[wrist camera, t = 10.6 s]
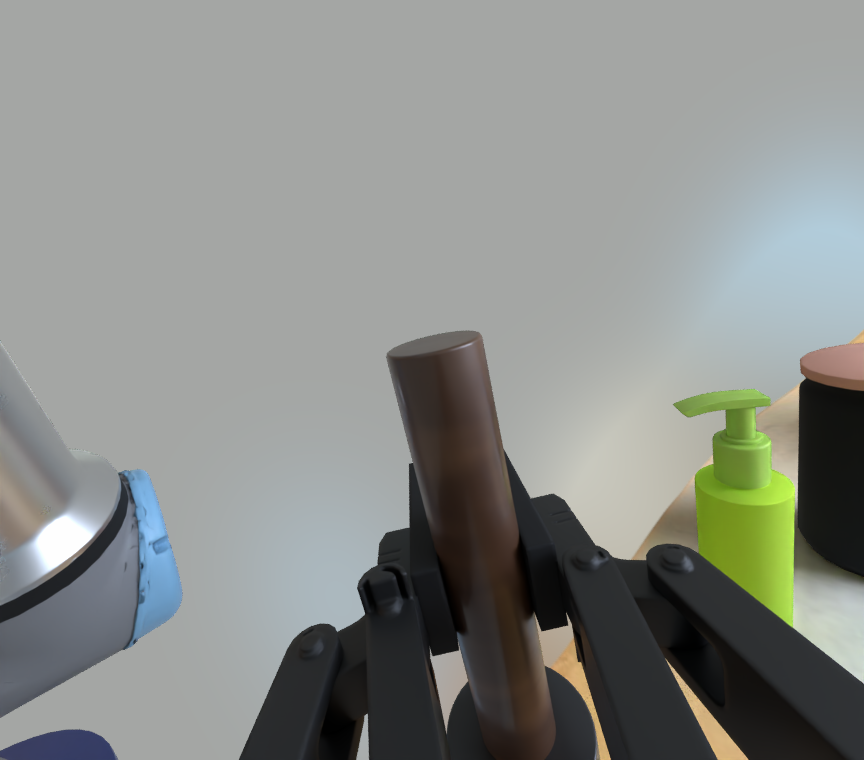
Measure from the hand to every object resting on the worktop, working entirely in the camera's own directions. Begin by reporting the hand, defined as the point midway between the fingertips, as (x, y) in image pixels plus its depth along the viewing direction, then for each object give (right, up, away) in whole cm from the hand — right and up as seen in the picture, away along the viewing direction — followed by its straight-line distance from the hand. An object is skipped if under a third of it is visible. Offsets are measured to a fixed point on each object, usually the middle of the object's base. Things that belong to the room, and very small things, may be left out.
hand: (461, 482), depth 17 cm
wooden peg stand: (+3, -12, -3) cm, 12 cm away
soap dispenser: (+24, -16, +17) cm, 33 cm away
